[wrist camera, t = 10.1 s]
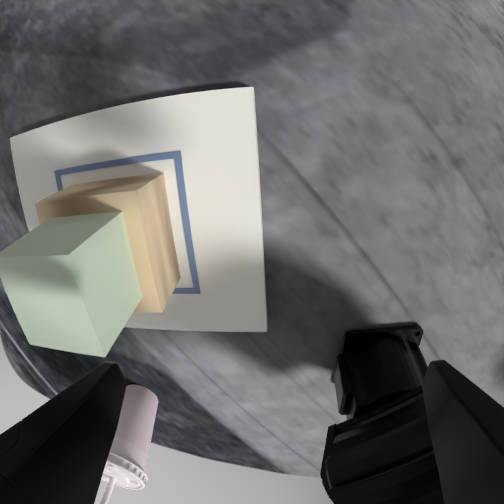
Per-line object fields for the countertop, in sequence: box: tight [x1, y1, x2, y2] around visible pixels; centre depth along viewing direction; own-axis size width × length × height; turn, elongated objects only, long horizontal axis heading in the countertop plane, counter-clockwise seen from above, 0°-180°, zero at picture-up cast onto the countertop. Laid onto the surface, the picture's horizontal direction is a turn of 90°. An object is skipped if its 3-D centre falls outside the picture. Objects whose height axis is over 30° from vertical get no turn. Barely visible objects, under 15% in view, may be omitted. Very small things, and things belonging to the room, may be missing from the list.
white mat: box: [10, 87, 267, 332], centre depth 20 cm, size 18×16×1 cm
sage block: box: [0, 211, 142, 357], centre depth 14 cm, size 5×5×5 cm
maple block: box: [35, 173, 181, 313], centre depth 18 cm, size 7×7×4 cm
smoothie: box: [100, 384, 158, 504], centre depth 23 cm, size 6×6×14 cm
